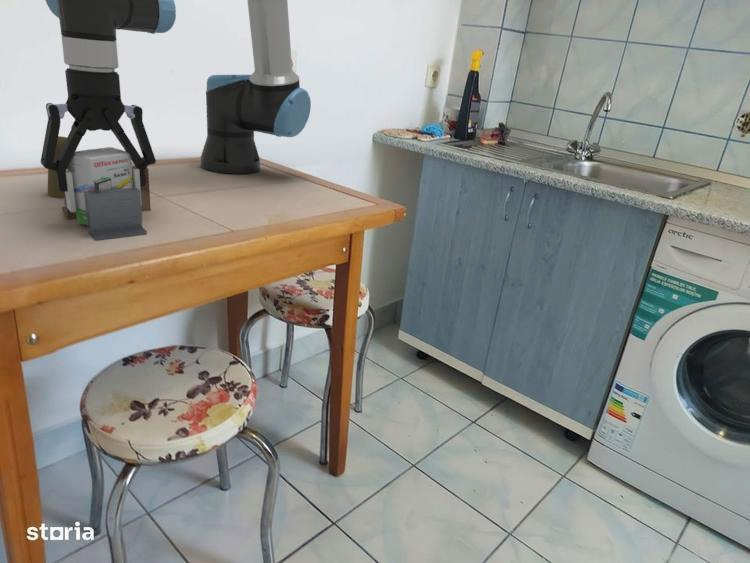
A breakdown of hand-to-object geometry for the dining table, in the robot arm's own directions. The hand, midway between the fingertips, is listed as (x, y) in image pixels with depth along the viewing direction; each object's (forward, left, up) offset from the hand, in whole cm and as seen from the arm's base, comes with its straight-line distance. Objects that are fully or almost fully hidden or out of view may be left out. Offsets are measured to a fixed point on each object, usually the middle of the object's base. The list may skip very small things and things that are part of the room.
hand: (105, 206), depth 93 cm
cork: (+2, -20, -3) cm, 20 cm away
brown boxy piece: (-2, -6, -3) cm, 7 cm away
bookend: (0, +5, -3) cm, 6 cm away
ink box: (0, 0, -3) cm, 3 cm away
